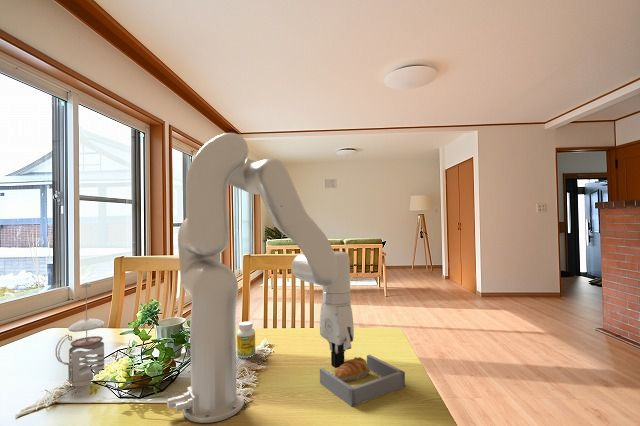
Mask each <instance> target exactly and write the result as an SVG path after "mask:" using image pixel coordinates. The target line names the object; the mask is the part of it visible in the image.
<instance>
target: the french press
mask: <svg viewBox="0 0 640 426" xmlns="http://www.w3.org/2000/svg"><path fill="white" fill-rule="evenodd" d="M91 286H92V285H91V283H90V282H84V283H82V285H81V288H83V289H85V319H80V320H78V321H77V322H74V323H72V324H71V325H70V326H68V327H67V329H68V331H69V332H73V333H77V332H78V333H79V332H85V333H86V335H85V337H80V338H78V339H75V340H73V336H72V335H69V334H65V335H64V336H62V337H61V339H60V340H59V341H58V343H57V345H55V357H56V359H57V361H58V362H59V363H61V364H64V365H66V366H68V371H67V372H68V378H67V379H66V380H65V381H68V382H69V383H70V384H72V385H73V386H75V387H76V388H77V387H83V386H89V385H92V384H91V380H92V378H93V374H92V372H91V369H92V370H94V371H95V372H94V376H95V375H96V374H97V373H99V371H100V370H101V369H103V368H104V369H105V343H104V342H103V340H104V337H102V336H99V335H96V336H93V335H91V336H88V331H91V330H96V329H99V328H101V327H103V326H104V325H105V324H106V323H105V321H103V320H101V319H99V318H98V319H97V318H88V299H87V297H88V294H87V293H88V290H87V289H88V288H90V287H91ZM62 340H63V341H62ZM66 340H68V341H70V346H71V347H70V348H69V349H68V362H66V361H62V358H61V356H60V352H61V351H60V350H61V348H62V345H63V343H64V342H65V341H66ZM61 341H62V342H61ZM60 342H61V343H60ZM58 347H59V348H58ZM77 349H78V350H77ZM79 349H83V350H79ZM75 350H77V351H75ZM85 350H86V351H85ZM89 355H91V356H89ZM93 355H96V356H93ZM92 360H93V361H92ZM90 366H93V367H90ZM75 387H74V388H75Z"/></svg>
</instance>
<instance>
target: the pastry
mask: <svg viewBox="0 0 640 426" xmlns="http://www.w3.org/2000/svg"><path fill="white" fill-rule="evenodd" d="M370 373H371V370H370V369H369V367H368V365H367V360H365V359H364V358H363V357H362V356H361V357H360V356H359V357H356V356H355V357H354V358H351V359H349V360H344V363H343V364H342V365H341V366H340V367H338V368H336V370H335V373H334V375H335V376H336V377H338V378H339V379H341V380H342V381H344V382H345V383H348V382H352V381H353V382H354V381H358V380H361V379H363V378H365V377H368V375H369V374H370Z"/></svg>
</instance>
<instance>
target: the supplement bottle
mask: <svg viewBox="0 0 640 426" xmlns="http://www.w3.org/2000/svg"><path fill="white" fill-rule="evenodd" d="M253 325H254V324H253V322H252V321H242V322H239V324H238V330H237V332H236V356H237V357H238V358H239V359H248V358H247V357H250V356H252V355H254V354H255V355H256V331H255V329H254V328H253ZM255 355H254V356H255ZM252 357H253V356H252ZM250 358H251V357H250Z"/></svg>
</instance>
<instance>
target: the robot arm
mask: <svg viewBox="0 0 640 426" xmlns="http://www.w3.org/2000/svg"><path fill="white" fill-rule="evenodd" d="M188 167H189V168H188V171H187V174H186V180H185V199H186V200H185V207H186V218H185V219H184V220H183V221H182V223H181V224H180V226H179V228H178V234H177V246H178V258H179V259H178V260H179V261H178V262H179V274H180V280H181V285H182V288H183V290H184V291H185V292H186V293H187V295H189V297H191V306H190V307H191V310H190V319H189V320H190V321H189V339H190V340H189V341H190V345H189V347H190V386H188V387H187V388H186V389H187V391H186V392H183V393H182V395H179V396H173V397H170V398H167V400H166V406H167V409H172V408H173V409H174V408H175V411H176V412H179V411H182V410H183V415H184V417H185V419H187V420H189V421H190V422H194V423H200V424H210V423H215V422H220V421H223V420H226V419H229V418H231V417H233V416H235V415H236V414H237V413H238V412H240V411H241V409H242V408H243V407H244V402H245V399H244V398H245V396H244V394H243V393H242V392H241V391H239V390H238V389H237V332H236V324H237V322H236V317H237V316H236V315H237V314H236V311H237V303H238V295H239V284H238V279H237V277H236V274H235V272H234V271H233V270H232V269H231V268H230V267H229V266H227V264H224V263H222V262H221V256H220V255H221V253H222V252H224V251H225V250H226V248H228V245H229V242H230V237H231V236H230V235H231V234H230V225H229V224H230V223H229V215H228V214H229V213H228V202H227V200H228V199H227V197H228V195H227V194H228V185H229V186H232V187H234V188H237V189H238V190H241V191H243V192H244V191H245V192H247V193H249V194H252V195H260V198H261V199H262V202H263V204H264V206H265V208H266V210H267V212H268V214H269V218H270V219H271V221H272V223H273V225H274V227H275V228H276V230H278V231H279V232H280V233H282V234H283V235H285V237H287V238H289V240H291V241H292V242H294V243H295V244H296V246H297V247H298V248H299V249H300V251H301V252H302V253H300V254H297V255H296V256H295V257H294V259H293V260H292V262H291V272H292V273H293V275H294V276H295V278H297V279H298V280H300V281H303V282H307V283H310V284H314V285H317V286H321V287H322V301H321V306H320V315H319V335H320V336H321V337H322V338H323V339H325V340H326V341H327V342H328V344H329V350H330V357H331V360H330V361H331V367H332V368H334V369H338V368H339V367H340V366H341V365H342V364H343V363H344V362H345V352H346V350H351V349H352V342H354V335H355V333H354V331H355V330H354V329H355V328H354V327H355V326H354V319H353V310H352V304H351V266H350V265H351V263H350V262H351V259H350V255H349V254H348V253H347V252H345V251H340V250H339V251H337V250H336V251H334V250H333V246H332V245H331V242H330V241H329V239H328V237H327V236H326V234H325V233H324V232H323V230H322V229H321V228H320V227H319V226H318V224H317V223H316V222H315V221H314V219H313V218H312V217H310V215H308V213H307V212H306V210H305V207H304V205H303V202H302V201H301V199H300V196H299V193H298V191H297V189H296V187H295V183H294V182H293V179H292V178H291V176H290V173H289V171H288V168H287V167H286V165H285V164H284V162H283V161H282V160H280V159H279V158H274V157H272V158H270V157H269V158H264V159H261V160H258V161H256V160H253V159H251V158H249V145H248V143H247V141H246V139H245V138H243V136H242V135H240V134H238V133H234V132H226V133H225V132H224V133H221V134H219V135H217V136H215V137H213V138H212V139H210V140H209V141H207V142H206V143H204V145H203V146H202V147H201V148H200V149H199V150H198V151H197V153H196V154H195V156H194V157H193V159H192V161H191V163H190V164H189V166H188Z"/></svg>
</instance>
